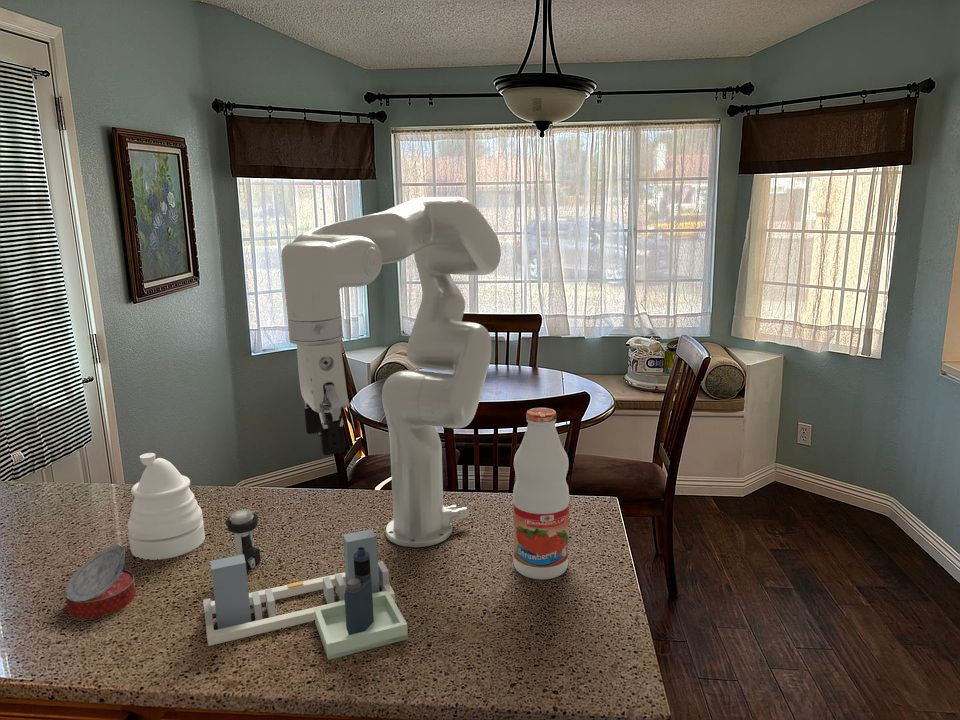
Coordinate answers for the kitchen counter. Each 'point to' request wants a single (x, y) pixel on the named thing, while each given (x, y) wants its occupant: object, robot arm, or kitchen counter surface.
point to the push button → (244, 535)
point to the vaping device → (359, 595)
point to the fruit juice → (541, 499)
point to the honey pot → (163, 513)
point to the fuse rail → (280, 593)
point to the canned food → (100, 585)
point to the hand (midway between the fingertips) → (325, 442)
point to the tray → (379, 633)
